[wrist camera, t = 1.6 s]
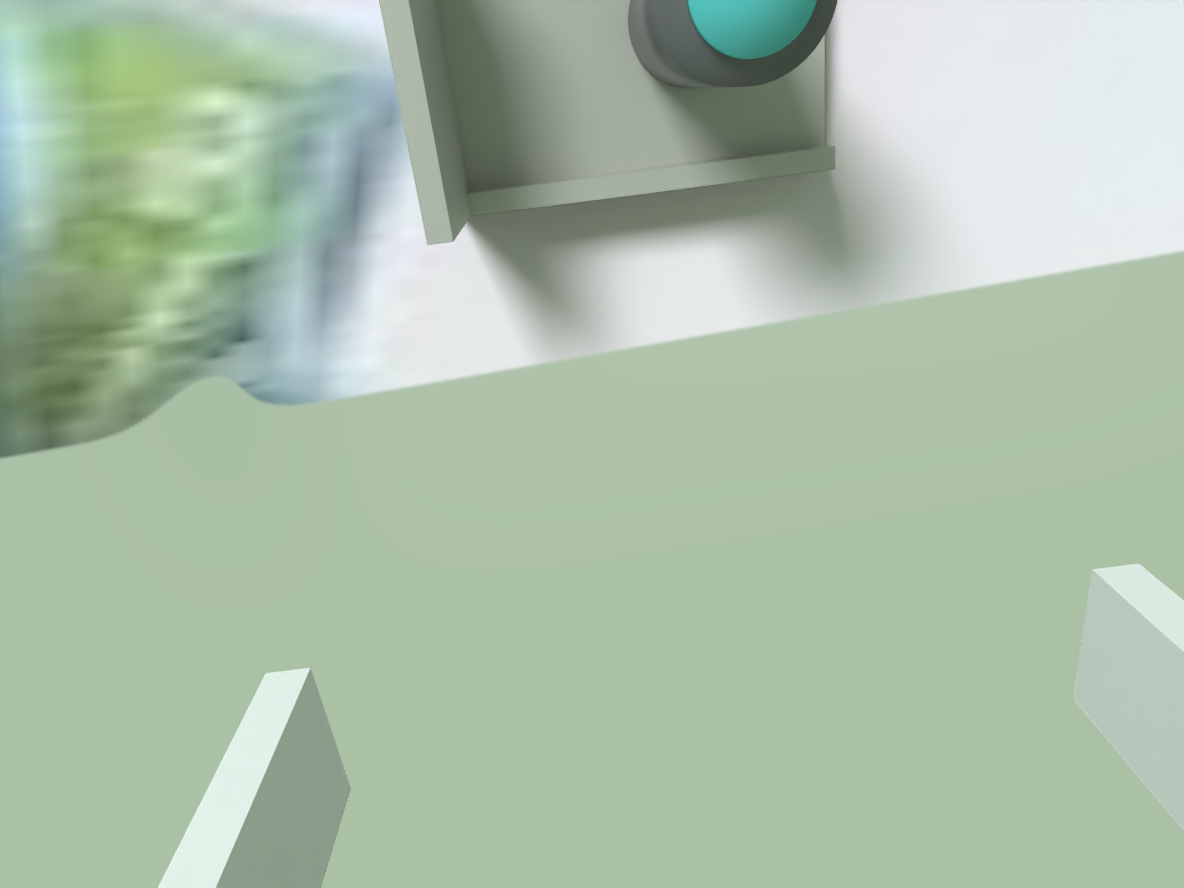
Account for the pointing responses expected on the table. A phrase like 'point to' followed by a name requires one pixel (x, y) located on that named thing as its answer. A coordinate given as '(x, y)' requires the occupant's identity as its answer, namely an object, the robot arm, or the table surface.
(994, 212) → the table surface
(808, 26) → the bottle
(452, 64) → the bay
